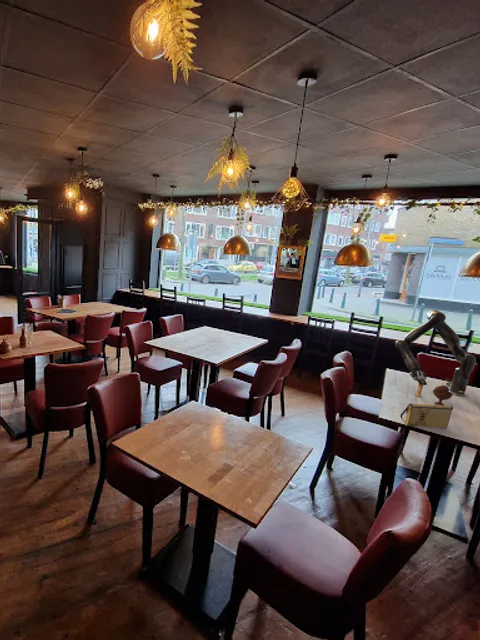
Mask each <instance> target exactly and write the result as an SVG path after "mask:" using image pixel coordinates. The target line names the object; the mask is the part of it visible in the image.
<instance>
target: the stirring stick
mask: <svg viewBox="0 0 480 640" xmlns="http://www.w3.org/2000/svg"><path fill="white" fill-rule="evenodd" d="M420 379H421V381H422V383H423V385H421V386H420V384H419V383H418V384H417V388H416V393H415V396H416V397H418V398H421V396H422V393H423V388H424V386H425V385H424V381H426V379H423V378H422V377H421V378H420Z"/></svg>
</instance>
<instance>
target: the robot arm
mask: <svg viewBox="0 0 480 640" xmlns="http://www.w3.org/2000/svg"><path fill="white" fill-rule="evenodd" d="M426 317H427V318H426V319H427V320H428V321H427V322H425V323H423V324H422V325H420V326H417V327H415V328H414V329H412V330H411V331H409V332H408V333H407V334H406V335H404V338H403V340H401V339H399V340H396V341H395V342H394V343H395V344H394V346H395V348H396V349H397V351H398V353H399V355H400V356H401V357H402V359H403V361H404V364H405V365H406V367H407V369H408V371H409V376H410V377H411V379H413V380H414V381H416V382H417V383H418V384H420V386H421V385H423V383H422V381H421V379H420V378H423V379H425V381H424V385H423V386H427V385H428V383H427V381H426V380H427V375H426V372H425V371H422V370H421V366H420V365H419V363H418V361H417V359H416V358H415V356H414V354H413V353H412V352H411V351H410V349H409V348H410V347H411V345H412V344H413V343H414V342H416V341H417V340H418V339H419V338H421V337H422V336H423V335H424V334H426V333H428V332H429V331H431V330H433V329H434V328H435V329H436V332H437V333H438V335H439V336H440V338H441V339H442V340H443V342H444V343H445V345H446V346H447V347H448V349H449V350H450V352H451V353H452V355H453V357H454V359H455V361H456V362H457V363H458V364H460V366H459V367H455V369H454V372H453V376H452V379H449V378H445V379H444V380H445V381H448V382H446V386H447V387H448V388H449V391H450V392H451V394H452V395H455V396H459V397H464V396H465V394H466V391H467V387H468V385H469V384H468V383H469V380H470V376H471V373H472V372H473V371H474V368H475V365H476V362H477V359H476V357H475V355H472V354H470V353H467V352H466V351H465V350H464V349H463V347H462V345H461V340H460V339H461V338H460V337H459V335H458V334H457V333H456V331H455V330H454V329H453V328H452V327H451V326H450V325H448V324H447V322H446V319H447V317H446V314H445V313H443V312H441V311H440V310H437V309H431V310H429V311H428V312H427V314H426Z"/></svg>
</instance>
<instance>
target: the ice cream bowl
mask: <svg viewBox="0 0 480 640" xmlns="http://www.w3.org/2000/svg"><path fill="white" fill-rule="evenodd" d="M449 390H450V387H449V386H448V385H445V384H442V385H438V386H435V387H434V389H432V393H433V395H434V397H436V398H437V399H438V401H435V402H434V405H445V404H444V403H443V401H446V400H450V399H451V398H452V397H453V394H452V393H451V392H450V391H449Z"/></svg>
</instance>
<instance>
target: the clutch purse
mask: <svg viewBox="0 0 480 640" xmlns="http://www.w3.org/2000/svg"><path fill="white" fill-rule="evenodd" d="M453 410H454V406H453V405H446V404H444V405H436V404H428V403H427V404H426V403H408V405H406V408H405V409H404V410H403V411H402V412H401V413H400V415H399V416H400V419H401V420H402V421H404V426H406V427H426V428H443V429H444V428H445V429H446V428H448V426H449V424H450V419H451V416H452V411H453ZM405 413H406V414H405ZM404 414H405V415H406V416H405V419H404V418H403V415H404Z"/></svg>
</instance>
